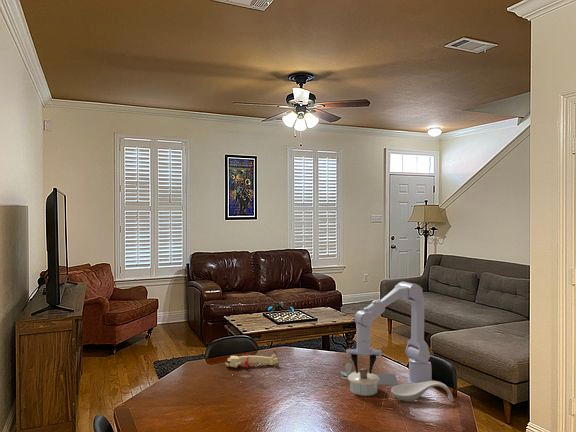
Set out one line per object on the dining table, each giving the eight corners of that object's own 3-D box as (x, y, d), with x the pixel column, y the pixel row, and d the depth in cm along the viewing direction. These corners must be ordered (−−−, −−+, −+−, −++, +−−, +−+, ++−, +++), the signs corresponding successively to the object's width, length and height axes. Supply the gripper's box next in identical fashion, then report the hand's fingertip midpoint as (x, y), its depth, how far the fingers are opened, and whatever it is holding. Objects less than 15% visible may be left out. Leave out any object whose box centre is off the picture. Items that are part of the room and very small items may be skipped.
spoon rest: (393, 404, 181) (393, 386, 181) (389, 393, 192) (389, 375, 192) (456, 406, 179) (456, 388, 179) (447, 394, 191) (448, 377, 191)
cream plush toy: (275, 364, 233) (225, 362, 229) (277, 346, 233) (226, 344, 229) (277, 371, 223) (225, 369, 219) (279, 352, 223) (226, 350, 220)
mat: (394, 375, 213) (394, 374, 213) (398, 386, 199) (398, 385, 199) (363, 373, 215) (363, 372, 215) (365, 385, 201) (365, 383, 201)
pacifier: (357, 380, 207) (356, 375, 213) (357, 366, 207) (356, 361, 213) (340, 380, 207) (340, 375, 213) (340, 366, 207) (340, 361, 213)
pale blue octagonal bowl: (376, 386, 199) (376, 375, 199) (378, 397, 188) (378, 384, 188) (350, 385, 200) (350, 374, 200) (350, 395, 189) (350, 383, 189)
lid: (378, 374, 200) (378, 364, 199) (380, 385, 187) (380, 375, 187) (347, 373, 201) (347, 363, 201) (347, 384, 188) (347, 373, 188)
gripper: (380, 338, 197) (380, 370, 197) (345, 336, 198) (345, 368, 199) (382, 342, 190) (381, 375, 190) (346, 341, 191) (346, 374, 192)
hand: (363, 372), depth 194 cm, fingers open, 5 cm apart
